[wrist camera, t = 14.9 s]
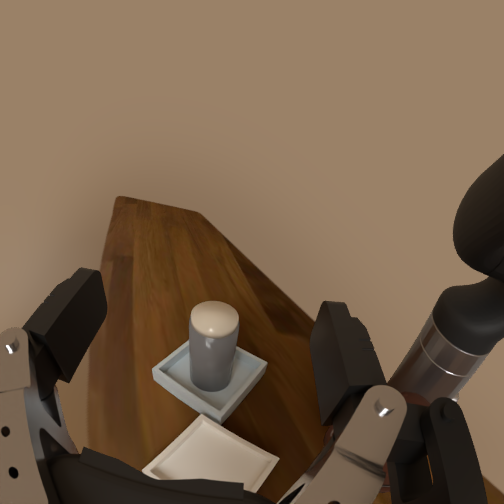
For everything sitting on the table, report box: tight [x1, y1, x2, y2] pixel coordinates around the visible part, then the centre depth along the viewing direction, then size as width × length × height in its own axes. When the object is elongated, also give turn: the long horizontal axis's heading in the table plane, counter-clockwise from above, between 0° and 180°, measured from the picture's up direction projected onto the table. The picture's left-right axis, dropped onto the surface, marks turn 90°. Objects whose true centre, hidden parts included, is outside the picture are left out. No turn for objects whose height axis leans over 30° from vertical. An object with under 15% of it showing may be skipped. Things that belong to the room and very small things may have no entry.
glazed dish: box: [152, 340, 268, 426], centre depth 35 cm, size 11×11×2 cm
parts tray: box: [142, 414, 280, 493], centre depth 22 cm, size 10×10×2 cm
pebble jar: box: [189, 301, 239, 392], centre depth 32 cm, size 6×6×11 cm
